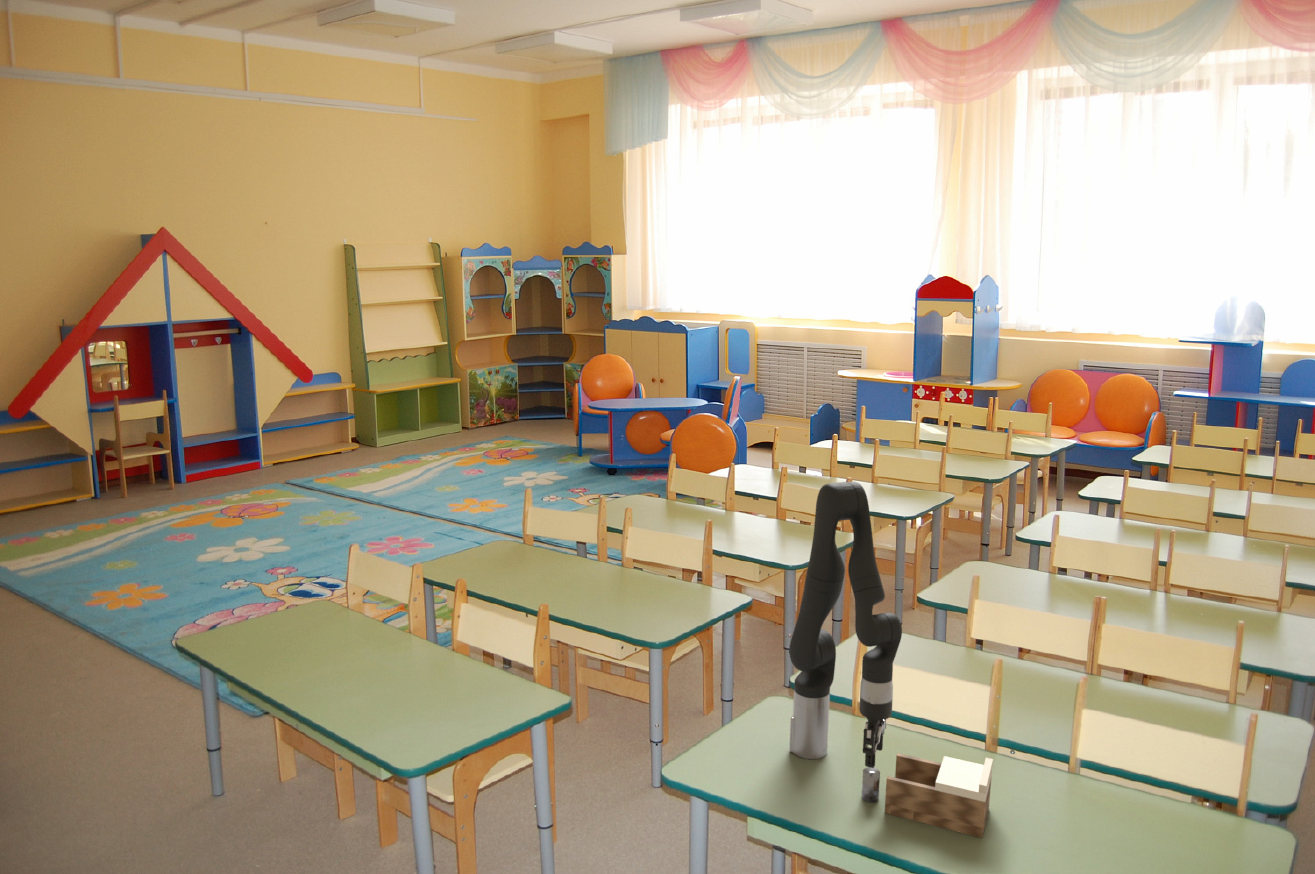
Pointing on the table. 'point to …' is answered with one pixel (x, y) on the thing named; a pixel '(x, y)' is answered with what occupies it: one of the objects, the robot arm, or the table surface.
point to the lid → (964, 778)
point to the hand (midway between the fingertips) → (873, 757)
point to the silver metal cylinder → (870, 785)
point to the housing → (931, 798)
